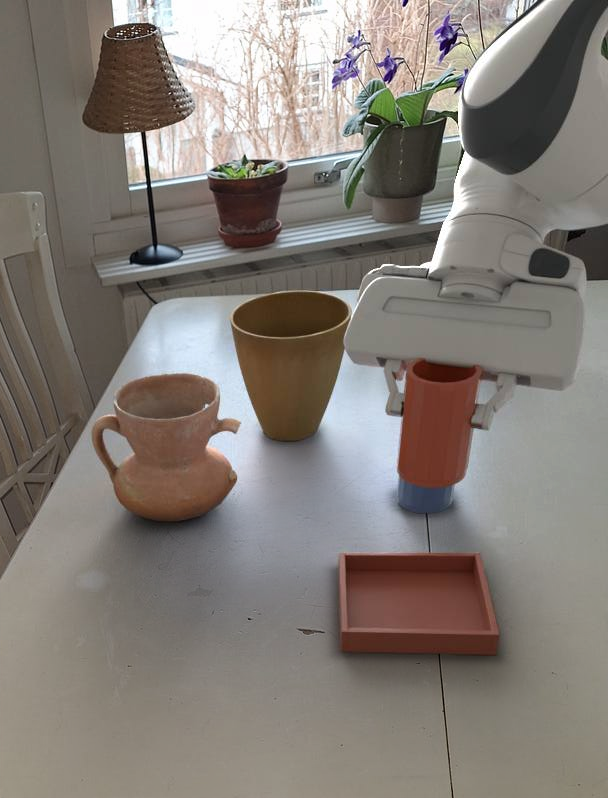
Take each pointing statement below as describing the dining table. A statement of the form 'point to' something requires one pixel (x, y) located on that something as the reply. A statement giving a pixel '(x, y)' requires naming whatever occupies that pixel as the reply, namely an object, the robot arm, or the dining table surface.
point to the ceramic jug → (168, 447)
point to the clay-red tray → (415, 603)
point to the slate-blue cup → (423, 497)
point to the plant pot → (290, 357)
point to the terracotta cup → (437, 423)
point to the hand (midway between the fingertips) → (436, 421)
